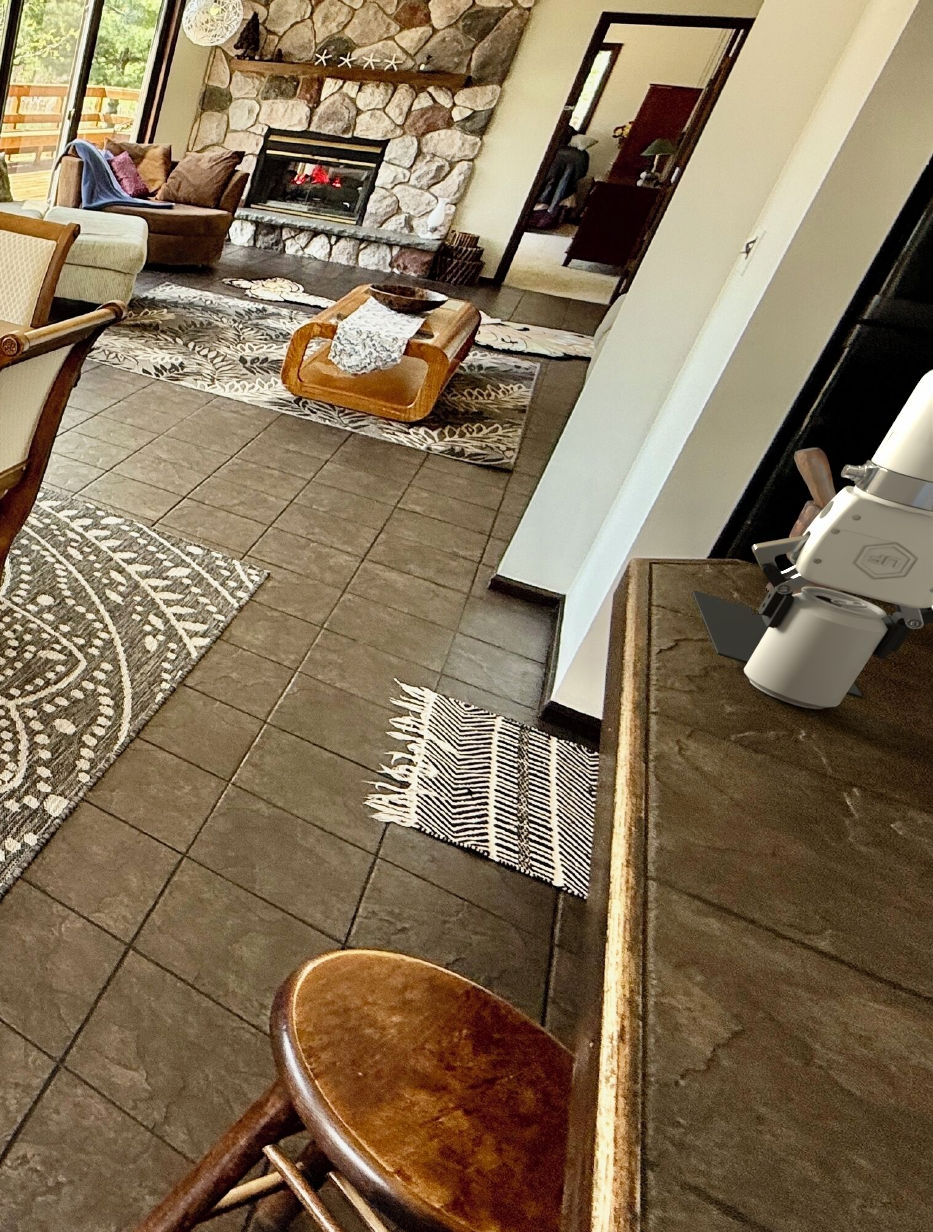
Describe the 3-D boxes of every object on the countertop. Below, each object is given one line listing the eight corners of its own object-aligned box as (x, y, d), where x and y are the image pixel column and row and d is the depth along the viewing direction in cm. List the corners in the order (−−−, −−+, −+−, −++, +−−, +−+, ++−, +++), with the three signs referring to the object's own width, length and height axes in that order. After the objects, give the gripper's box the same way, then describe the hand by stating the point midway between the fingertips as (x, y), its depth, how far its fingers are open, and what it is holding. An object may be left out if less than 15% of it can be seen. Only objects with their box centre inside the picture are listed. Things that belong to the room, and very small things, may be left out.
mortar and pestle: (731, 590, 125) (810, 456, 117) (722, 568, 131) (796, 440, 123) (853, 624, 118) (945, 485, 110) (837, 599, 125) (923, 466, 117)
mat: (816, 625, 117) (817, 624, 117) (861, 697, 103) (862, 696, 102) (691, 591, 124) (692, 589, 124) (717, 653, 109) (718, 652, 109)
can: (731, 665, 106) (784, 574, 102) (821, 691, 103) (880, 598, 98) (750, 694, 101) (808, 599, 96) (846, 722, 97) (910, 626, 92)
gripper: (803, 474, 94) (718, 620, 101) (1067, 531, 85) (952, 687, 92) (786, 455, 99) (706, 594, 106) (1031, 506, 90) (926, 655, 97)
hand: (820, 636), depth 99 cm, fingers closed on can, 7 cm apart
